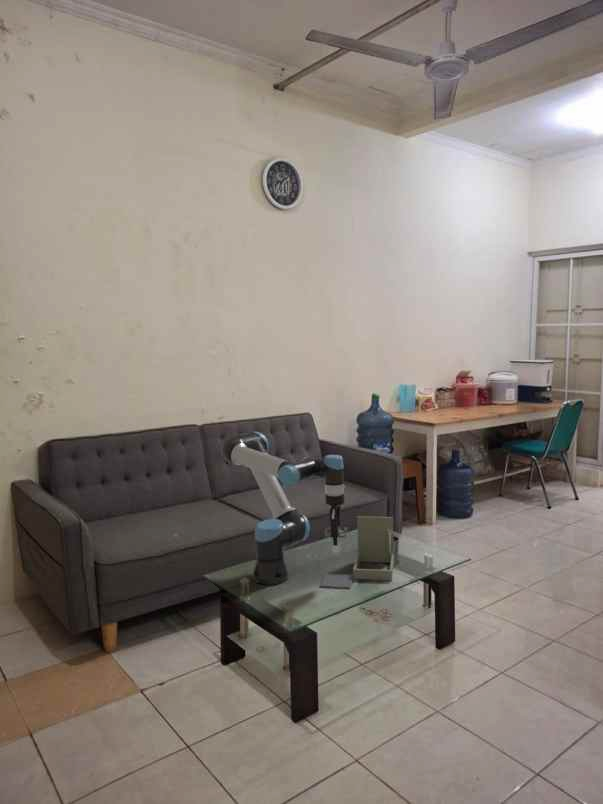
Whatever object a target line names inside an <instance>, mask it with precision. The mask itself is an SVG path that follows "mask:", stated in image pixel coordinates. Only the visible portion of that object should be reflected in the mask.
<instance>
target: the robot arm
mask: <svg viewBox="0 0 603 804" xmlns="http://www.w3.org/2000/svg"><path fill="white" fill-rule="evenodd" d="M269 446H270V445H269V440H268V439H267V437H266V436H265V435H264V434H263V433H262V432H259V431H249V432H246V433H240V434H239V433H238V434H235V435H234V434H233V435H231V436H229V437H226V438H225V440H224V441H222V444H221V447H220V448H221V449H220V452H221V455H222V457H223V459H224V460H225V461H227V462H228V463H230V464H232V465H235V466H241V465H242V466H245V467H246V468H249V469H250V470H251V473H252V475H253V478H254V479H255V481H256V483H257V485H258V488H259V489H260V491H261V493H262V495H263V497H264V500H265V502H266V503H267V506H268V507H269V510H270V511H271V514H272V515H273V516H272V518H270V519H264V520H262V521H259V523H257V524H256V525H255V528H254V543H255V564H254V567H253V571H252V579H253V578H254V579H255V581H257V582H258V583H257V584H259V583H261V584H260V585H266V586H267V585H268V586H271V585H272V586H273V585H280V584H282V583H284V582H286V581H288V580H289V578H290V572H289V571H290V570H289V567H288V566H287V562H286V561H285V549H287V548H289V547H291V546H294V545H296V544H297V545H298V544H300V543H302V542H303V541H305V540H307V538H308V537H309V534H310V531H311V529H310V526H311V525H310V522H309V520H308V518H307V516H306V515H304V514H303V513H299V511H297V508H296V507H292V506H291V504H290V502H289V500H288V498H287V495H286V494H285V492H284V489H283V488H282V486H281V484H283V485H286V486H287V485H294V484H296V483H299V482H302V481H307V480H310V479H312V478H319V479H320V478H322V479H324V493H325V504H326V505H328V506H330V508H329V519H330V520H329V521H330V526H331V530H330V532H331V535H330V537H329V538H331V545H332V546H331V547H332V548H331V549H332V553H334V554H338V553H340V550H342V549H341V538H339V535H338V527H339V529H340V531H342V529H341V528H342V527H341V511H342V510H341V509H342V508H341V506H342V505H343V504H345V494H344V493H345V489H346V485H344V483H345V482H344V467H345V466H344V459H343V456H342V455H339V454H328V455H325V456H324V458H317V457H312V456H310V457H303V458H302V459H301V460H300V461H297V462H291V461H289V460H285V459H283V458H279V457H277V456H274V455H271V454H269V453H268V452H269ZM278 479H279V481H280V482H281V484H280V482H279V481H278ZM332 553H331V554H332ZM255 581H254V582H255Z"/></svg>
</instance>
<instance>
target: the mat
mask: <svg viewBox="0 0 603 804" xmlns="http://www.w3.org/2000/svg"><path fill="white" fill-rule="evenodd" d="M353 580H354V579H353V574H342V573H341V574H339V573H338V574H335V573H324V575H323V577H322V580H321V583H320V585H319V587H320V588H329V589H346V588H350V587H352V584H353V582H354V581H353ZM341 587H343V588H341ZM350 589H351V588H350Z"/></svg>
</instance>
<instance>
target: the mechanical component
mask: <svg viewBox="0 0 603 804" xmlns="http://www.w3.org/2000/svg"><path fill="white" fill-rule="evenodd" d="M349 531H350V530H349V527H344V529H343V530H340V529H339V527H338V535H339V538H340V539H342V538H343V539H345V538H346V536H347V535H348V533H349ZM322 532H324V535H325V537H326V538H331V537H330V535H331V525H324V527H323V526H322Z"/></svg>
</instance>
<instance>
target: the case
mask: <svg viewBox="0 0 603 804" xmlns="http://www.w3.org/2000/svg"><path fill="white" fill-rule="evenodd" d="M356 524H357V527H356V531H357V555H356V557H355V558H356V559H355V561H354V565H353V569H352V570H353V571H352V573H353V574H352V575H353V580H373V581H393V576H394V574H393V572H394V565H395V564H394V563H395V555H394V554H395V552H394V551H395V550H394V549H395V545H394V544H395V543H394V540H395V539H394V516H363V515H362V516H361V515H359V516H358V515H357V516H356ZM361 562H362V563H363V562H366V563H367V562H368V563H389V565H390V566H389V569H371V568H370V569H368V568H359V567H360V563H361Z"/></svg>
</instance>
